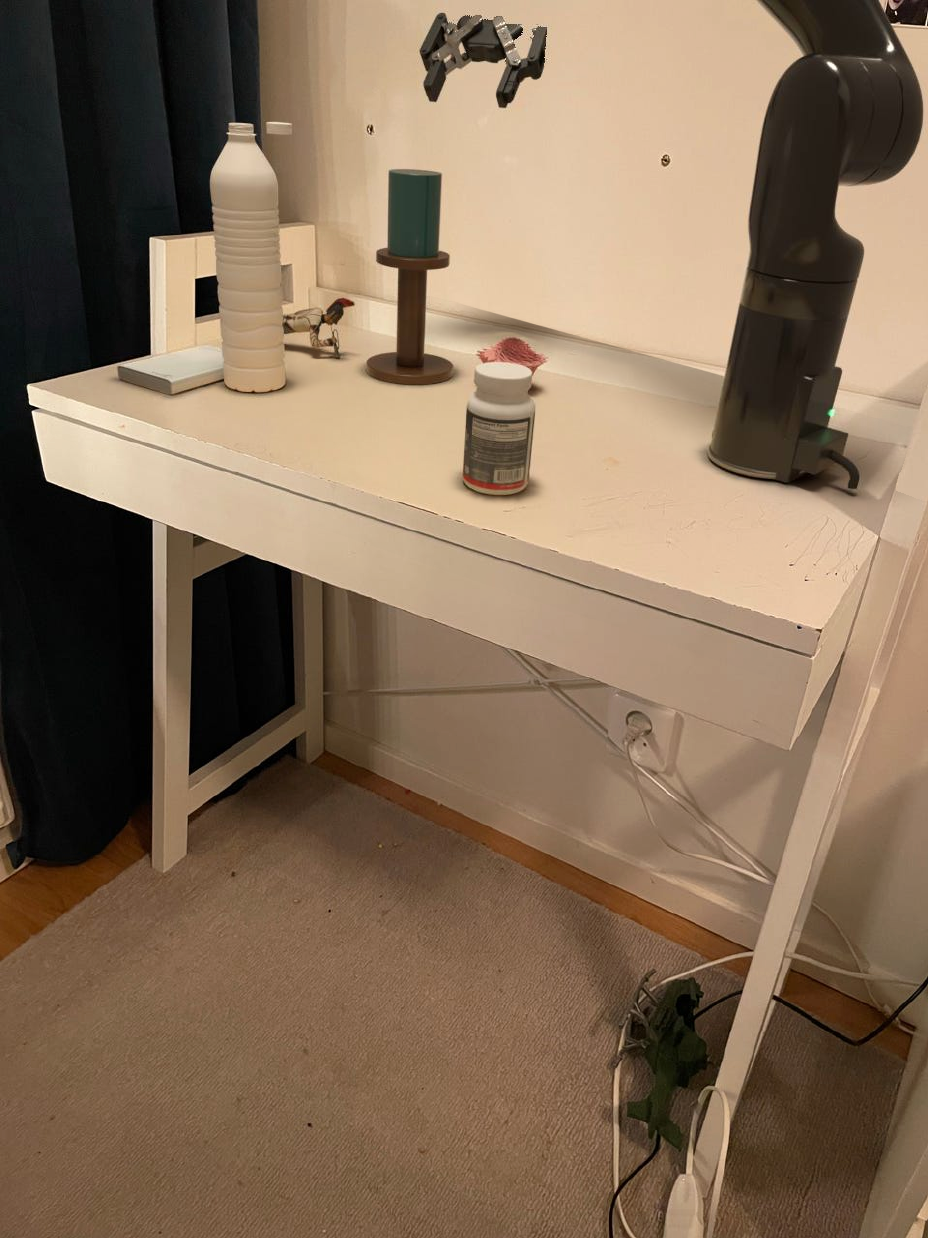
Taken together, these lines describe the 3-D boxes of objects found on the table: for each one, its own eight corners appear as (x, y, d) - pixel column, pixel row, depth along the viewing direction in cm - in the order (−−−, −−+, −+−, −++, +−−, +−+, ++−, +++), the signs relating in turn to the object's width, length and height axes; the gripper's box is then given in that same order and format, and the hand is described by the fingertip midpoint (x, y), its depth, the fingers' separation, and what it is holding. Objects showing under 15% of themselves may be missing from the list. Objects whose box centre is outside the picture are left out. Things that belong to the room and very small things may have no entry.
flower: (558, 391, 105) (564, 341, 102) (509, 403, 100) (513, 351, 97) (508, 373, 109) (512, 325, 107) (459, 384, 104) (461, 334, 102)
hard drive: (171, 380, 94) (256, 356, 104) (116, 364, 98) (203, 342, 107) (172, 396, 95) (257, 370, 105) (118, 379, 99) (204, 356, 108)
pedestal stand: (470, 375, 108) (478, 256, 101) (407, 390, 102) (411, 265, 95) (411, 355, 114) (415, 242, 107) (348, 368, 107) (347, 249, 101)
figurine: (251, 372, 115) (360, 356, 110) (233, 354, 112) (346, 336, 106) (258, 331, 117) (366, 313, 112) (241, 312, 113) (351, 292, 108)
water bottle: (245, 396, 96) (228, 124, 84) (212, 381, 100) (192, 118, 88) (314, 383, 102) (309, 125, 89) (281, 369, 106) (271, 120, 93)
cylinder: (449, 255, 101) (453, 174, 97) (411, 259, 98) (414, 175, 94) (414, 246, 104) (416, 168, 100) (376, 250, 101) (377, 169, 97)
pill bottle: (477, 466, 83) (484, 355, 78) (537, 479, 82) (548, 366, 76) (451, 488, 79) (458, 372, 74) (514, 502, 77) (525, 384, 72)
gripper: (446, -49, 105) (397, 66, 102) (565, -46, 100) (518, 74, 97) (463, 10, 112) (417, 120, 109) (575, 16, 107) (531, 130, 104)
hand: (464, 98), depth 103 cm, fingers open, 8 cm apart
